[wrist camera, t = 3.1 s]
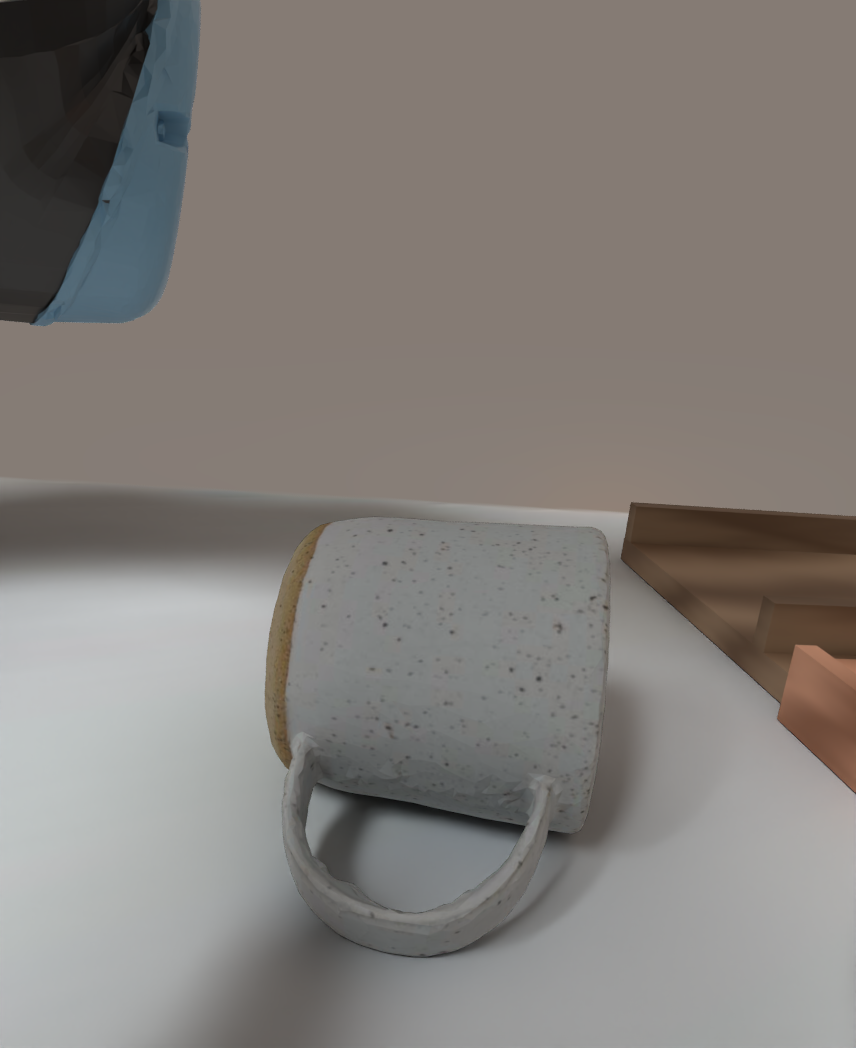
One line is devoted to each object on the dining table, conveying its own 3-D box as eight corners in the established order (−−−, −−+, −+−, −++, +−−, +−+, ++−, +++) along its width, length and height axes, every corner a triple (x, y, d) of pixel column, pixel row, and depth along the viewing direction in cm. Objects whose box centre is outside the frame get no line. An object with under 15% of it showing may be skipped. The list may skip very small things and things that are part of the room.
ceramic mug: (320, 694, 27) (334, 467, 24) (570, 731, 26) (609, 500, 24) (191, 944, 17) (194, 596, 14) (594, 1017, 16) (665, 662, 14)
